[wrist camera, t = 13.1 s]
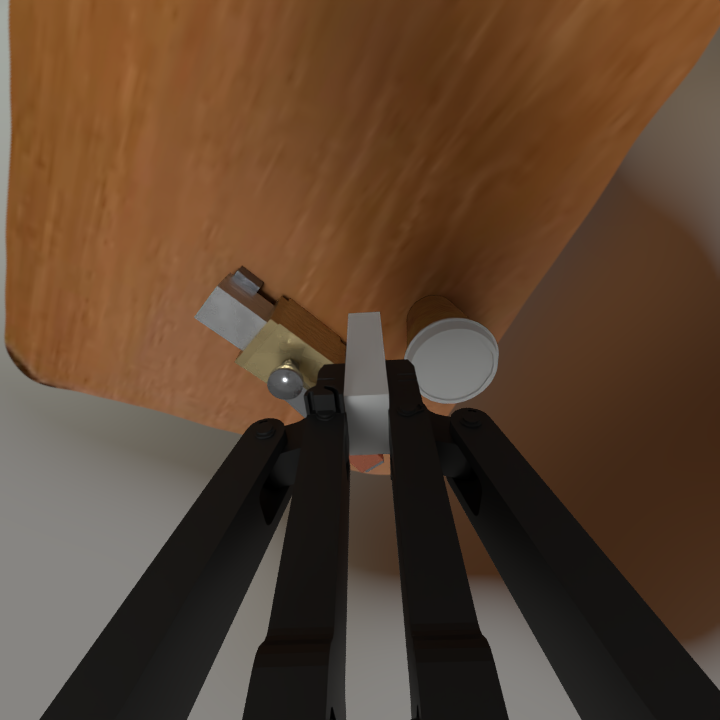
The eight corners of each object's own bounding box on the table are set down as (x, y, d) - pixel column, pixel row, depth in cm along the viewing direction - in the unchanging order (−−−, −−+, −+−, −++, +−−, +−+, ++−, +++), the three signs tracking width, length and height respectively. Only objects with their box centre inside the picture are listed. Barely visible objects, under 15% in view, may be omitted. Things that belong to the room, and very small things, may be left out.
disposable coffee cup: (418, 364, 51) (435, 421, 40) (379, 310, 47) (386, 358, 36) (482, 327, 48) (518, 377, 38) (447, 266, 44) (476, 304, 34)
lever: (262, 376, 40) (259, 384, 38) (287, 357, 39) (284, 365, 37) (363, 466, 46) (363, 476, 45) (386, 452, 45) (387, 461, 44)
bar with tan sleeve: (208, 302, 46) (176, 338, 38) (240, 259, 43) (213, 287, 35) (346, 400, 53) (344, 447, 45) (380, 368, 51) (385, 412, 42)
